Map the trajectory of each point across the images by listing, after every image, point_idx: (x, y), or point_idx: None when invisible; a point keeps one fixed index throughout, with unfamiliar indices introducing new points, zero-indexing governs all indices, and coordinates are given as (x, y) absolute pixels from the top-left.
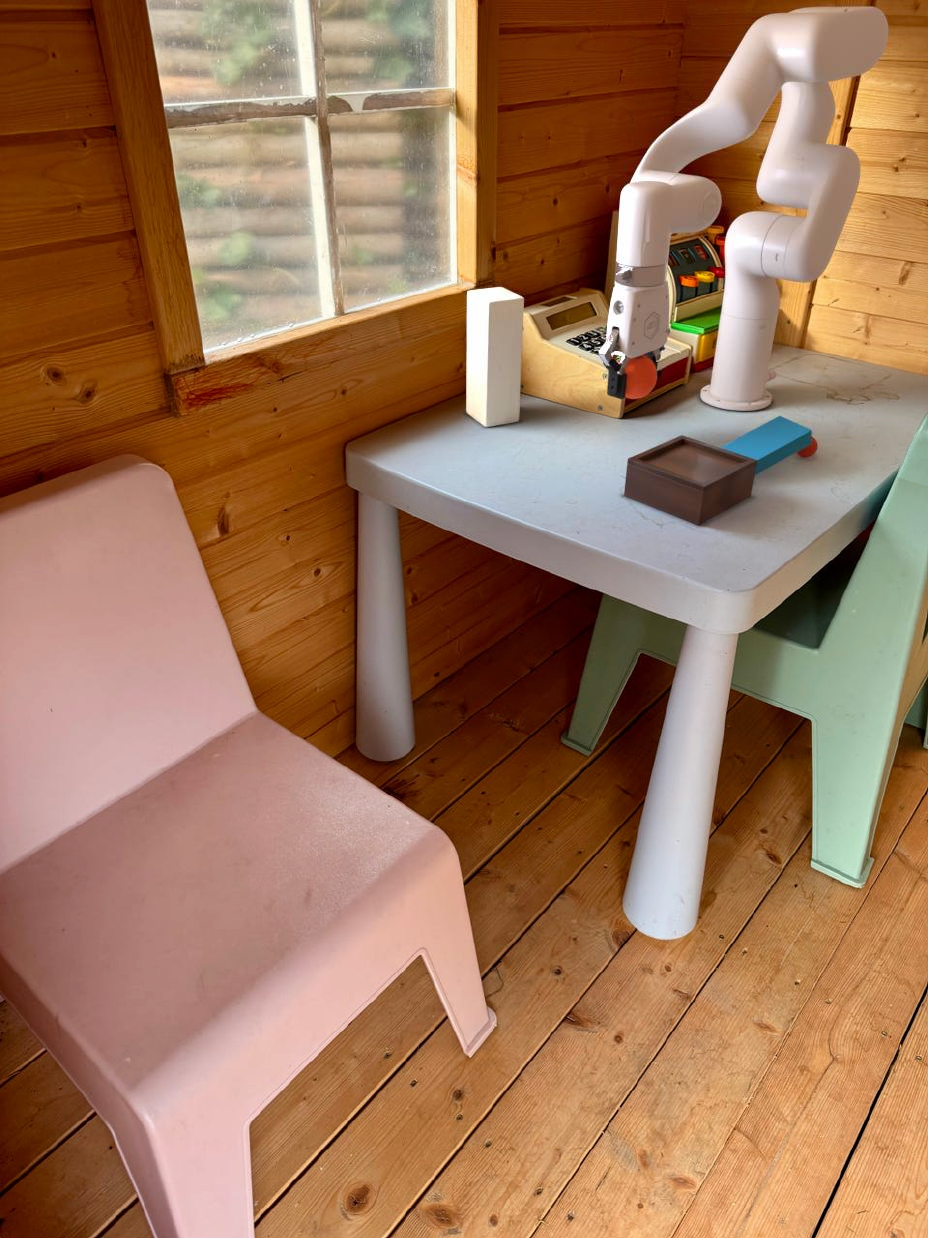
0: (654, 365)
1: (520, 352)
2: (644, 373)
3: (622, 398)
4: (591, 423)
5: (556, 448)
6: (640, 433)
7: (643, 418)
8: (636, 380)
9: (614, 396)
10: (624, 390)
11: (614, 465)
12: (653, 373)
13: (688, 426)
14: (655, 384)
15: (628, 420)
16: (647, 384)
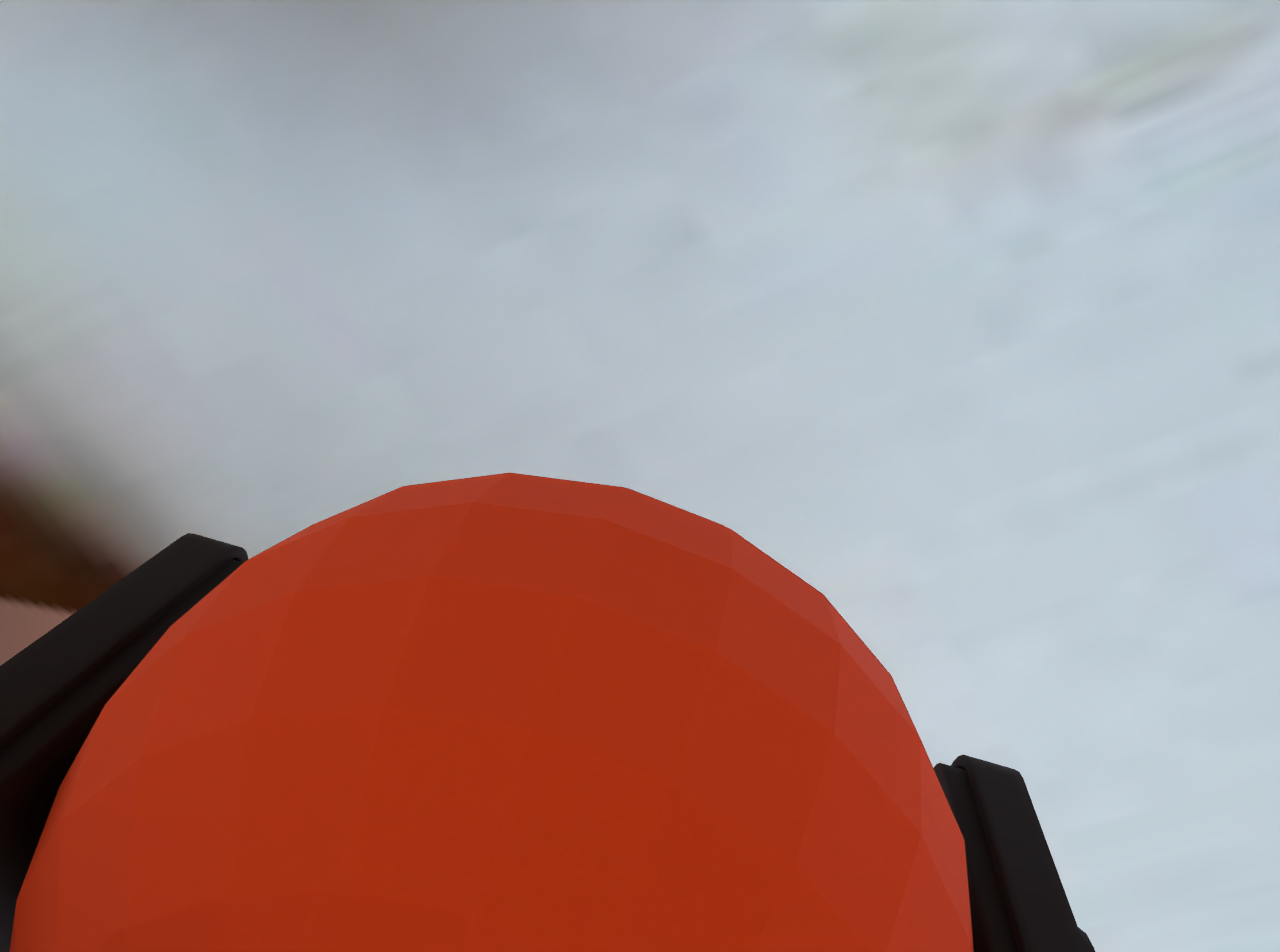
0: (234, 761)
1: None
2: (788, 807)
3: (1012, 773)
4: None
5: (1076, 888)
6: (424, 445)
7: (131, 537)
8: (937, 826)
9: None
10: (1032, 851)
11: (1249, 373)
12: (513, 624)
13: (23, 138)
14: (192, 534)
15: None
16: (765, 573)
